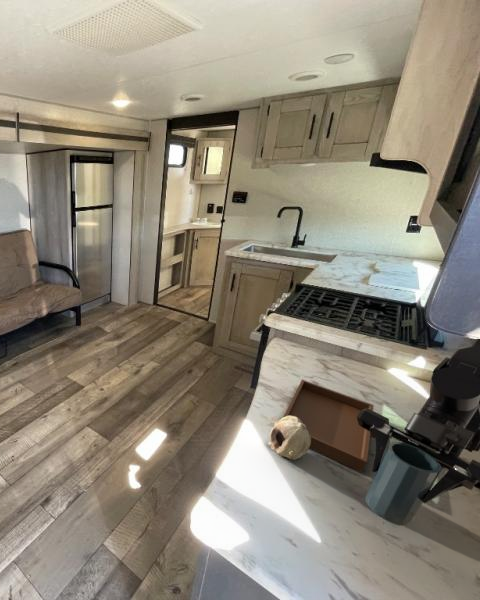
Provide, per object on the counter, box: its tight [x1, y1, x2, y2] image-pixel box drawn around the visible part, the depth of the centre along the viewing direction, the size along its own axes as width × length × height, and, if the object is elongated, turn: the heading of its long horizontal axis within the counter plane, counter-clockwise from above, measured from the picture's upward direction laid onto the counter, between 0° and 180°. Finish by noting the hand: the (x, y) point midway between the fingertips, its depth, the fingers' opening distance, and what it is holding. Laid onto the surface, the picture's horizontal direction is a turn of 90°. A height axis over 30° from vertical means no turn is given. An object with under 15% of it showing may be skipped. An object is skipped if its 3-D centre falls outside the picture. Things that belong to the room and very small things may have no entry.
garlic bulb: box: [268, 416, 311, 460], centre depth 78 cm, size 9×8×10 cm
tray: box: [283, 379, 375, 473], centre depth 89 cm, size 28×18×3 cm, turn 137°
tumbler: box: [364, 441, 442, 527], centre depth 59 cm, size 7×7×13 cm
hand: (397, 486), depth 58 cm, fingers closed on tumbler, 7 cm apart
